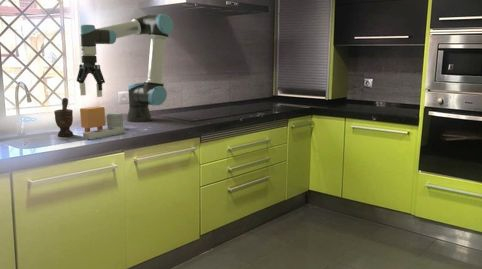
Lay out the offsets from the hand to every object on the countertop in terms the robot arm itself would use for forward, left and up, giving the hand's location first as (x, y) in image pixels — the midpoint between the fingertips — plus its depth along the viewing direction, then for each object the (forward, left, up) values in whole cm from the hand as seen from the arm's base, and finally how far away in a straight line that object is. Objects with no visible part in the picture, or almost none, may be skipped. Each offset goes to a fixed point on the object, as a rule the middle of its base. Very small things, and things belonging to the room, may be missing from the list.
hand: (91, 96), depth 233 cm
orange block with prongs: (0, 0, -19) cm, 19 cm away
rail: (+4, +14, -19) cm, 24 cm away
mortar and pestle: (+15, -2, -20) cm, 25 cm away
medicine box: (-13, +2, -20) cm, 24 cm away
